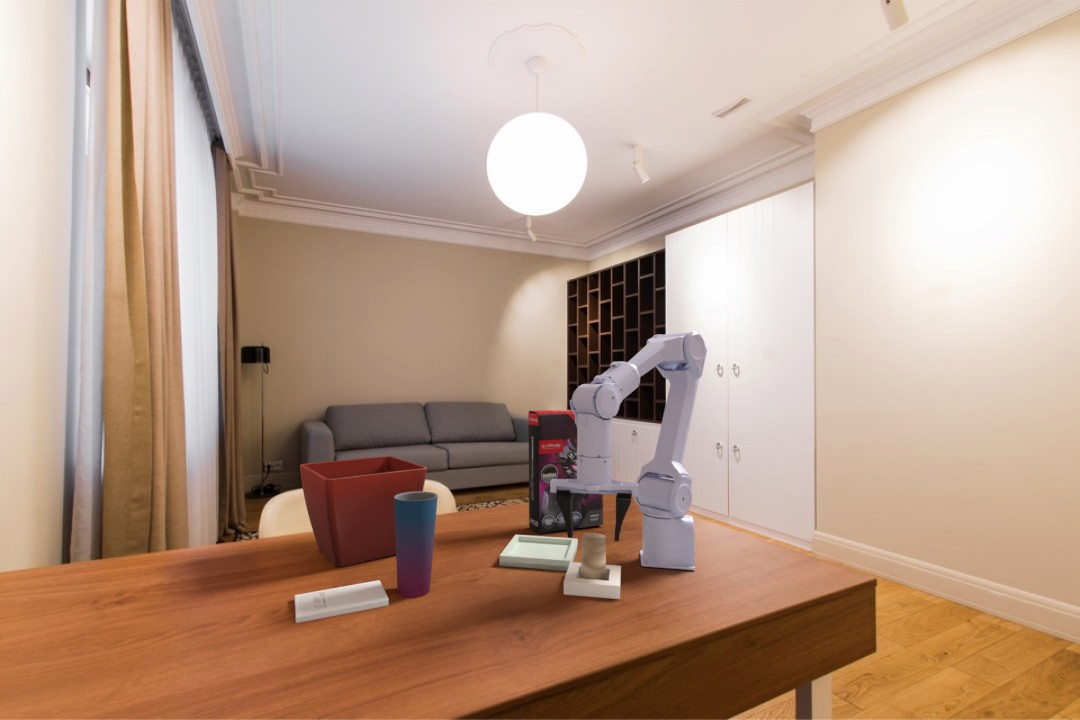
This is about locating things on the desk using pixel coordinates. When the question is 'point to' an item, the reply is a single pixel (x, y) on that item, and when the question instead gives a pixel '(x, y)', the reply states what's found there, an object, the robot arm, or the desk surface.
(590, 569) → the peg
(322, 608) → the external hard drive
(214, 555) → the desk surface
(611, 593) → the pin holder
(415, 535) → the cup
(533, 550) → the tray
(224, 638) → the desk surface
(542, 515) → the graphics card box
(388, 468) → the plant pot
